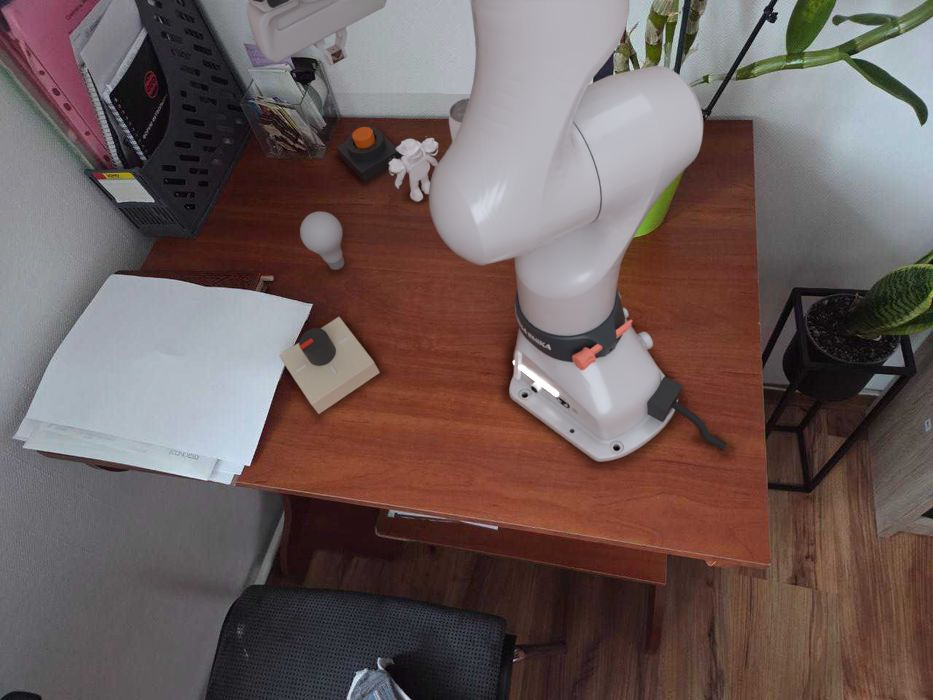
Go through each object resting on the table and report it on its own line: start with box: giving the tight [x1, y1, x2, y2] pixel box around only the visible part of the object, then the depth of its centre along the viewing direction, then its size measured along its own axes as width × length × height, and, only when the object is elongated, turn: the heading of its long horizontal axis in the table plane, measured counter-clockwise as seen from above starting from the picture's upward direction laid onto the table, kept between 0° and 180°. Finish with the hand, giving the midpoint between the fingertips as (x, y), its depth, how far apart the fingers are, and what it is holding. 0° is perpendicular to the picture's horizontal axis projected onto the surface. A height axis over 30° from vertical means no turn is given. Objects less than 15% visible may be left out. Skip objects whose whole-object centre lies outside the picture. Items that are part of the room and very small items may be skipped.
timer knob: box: [298, 327, 336, 366], centre depth 83 cm, size 4×4×4 cm
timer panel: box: [278, 316, 380, 415], centre depth 86 cm, size 10×10×3 cm
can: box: [448, 97, 470, 143], centre depth 99 cm, size 6×6×12 cm
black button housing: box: [336, 125, 403, 183], centre depth 108 cm, size 9×8×4 cm
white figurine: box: [388, 137, 439, 202], centre depth 98 cm, size 9×4×12 cm, turn 126°
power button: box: [351, 126, 375, 149], centre depth 106 cm, size 4×4×2 cm
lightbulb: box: [299, 210, 346, 271], centre depth 92 cm, size 6×6×11 cm
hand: (336, 60), depth 94 cm, fingers closed
